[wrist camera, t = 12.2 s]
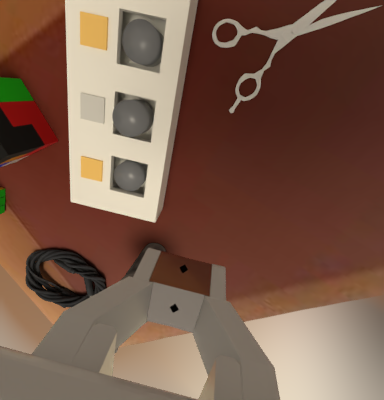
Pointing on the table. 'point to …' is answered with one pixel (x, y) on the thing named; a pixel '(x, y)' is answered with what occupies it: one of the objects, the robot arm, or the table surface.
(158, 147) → the button panel
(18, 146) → the puzzle toy
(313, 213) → the table surface
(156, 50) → the button
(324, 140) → the table surface
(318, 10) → the scissors
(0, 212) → the puzzle toy
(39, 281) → the cable
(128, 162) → the button
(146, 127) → the button middle
